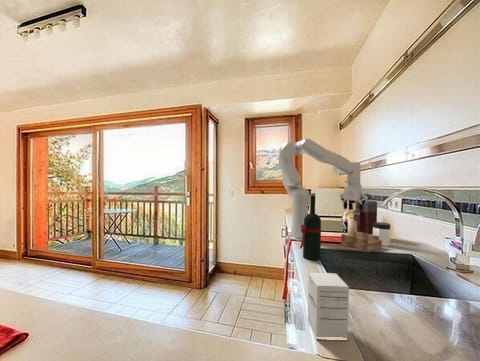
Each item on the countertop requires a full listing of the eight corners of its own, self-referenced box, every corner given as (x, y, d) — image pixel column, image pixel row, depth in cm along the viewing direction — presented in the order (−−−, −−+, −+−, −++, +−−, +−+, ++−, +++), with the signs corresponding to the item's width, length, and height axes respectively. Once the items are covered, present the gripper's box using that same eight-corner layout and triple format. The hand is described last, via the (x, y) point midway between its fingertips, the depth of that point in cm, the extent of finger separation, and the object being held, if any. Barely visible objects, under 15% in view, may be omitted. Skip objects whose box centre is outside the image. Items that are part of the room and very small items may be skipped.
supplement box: (307, 320, 59) (307, 271, 59) (336, 321, 59) (337, 272, 59) (315, 340, 52) (316, 285, 52) (348, 342, 52) (350, 286, 52)
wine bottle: (295, 256, 109) (296, 192, 108) (313, 254, 112) (314, 192, 112) (304, 262, 101) (306, 193, 101) (324, 259, 104) (325, 193, 104)
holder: (341, 244, 129) (341, 234, 129) (354, 241, 137) (354, 231, 137) (369, 252, 117) (369, 240, 116) (381, 247, 125) (381, 236, 125)
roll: (346, 238, 144) (346, 220, 144) (350, 237, 147) (350, 219, 146) (353, 240, 140) (354, 221, 139) (358, 239, 143) (358, 220, 142)
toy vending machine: (351, 236, 150) (352, 193, 150) (364, 234, 154) (365, 192, 154) (364, 239, 142) (365, 194, 141) (376, 237, 146) (377, 193, 146)
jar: (387, 247, 125) (388, 225, 125) (371, 244, 131) (371, 223, 131) (391, 244, 131) (392, 223, 131) (375, 241, 137) (376, 221, 137)
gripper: (337, 181, 148) (336, 208, 148) (364, 182, 133) (364, 211, 134) (343, 181, 152) (343, 207, 152) (370, 182, 138) (370, 210, 138)
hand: (353, 209), depth 143 cm, fingers open, 9 cm apart
